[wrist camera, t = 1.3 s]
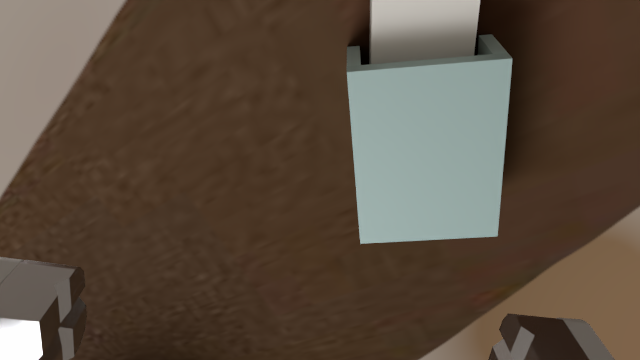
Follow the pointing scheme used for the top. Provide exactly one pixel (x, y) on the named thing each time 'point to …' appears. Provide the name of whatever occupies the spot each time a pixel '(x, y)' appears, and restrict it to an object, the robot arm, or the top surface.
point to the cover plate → (422, 29)
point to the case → (429, 144)
